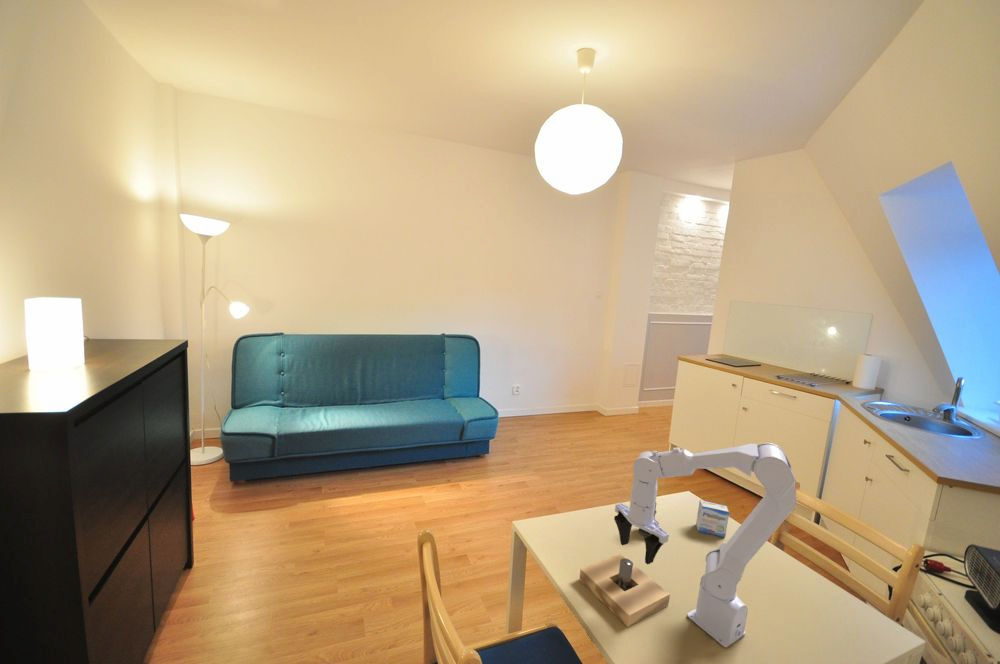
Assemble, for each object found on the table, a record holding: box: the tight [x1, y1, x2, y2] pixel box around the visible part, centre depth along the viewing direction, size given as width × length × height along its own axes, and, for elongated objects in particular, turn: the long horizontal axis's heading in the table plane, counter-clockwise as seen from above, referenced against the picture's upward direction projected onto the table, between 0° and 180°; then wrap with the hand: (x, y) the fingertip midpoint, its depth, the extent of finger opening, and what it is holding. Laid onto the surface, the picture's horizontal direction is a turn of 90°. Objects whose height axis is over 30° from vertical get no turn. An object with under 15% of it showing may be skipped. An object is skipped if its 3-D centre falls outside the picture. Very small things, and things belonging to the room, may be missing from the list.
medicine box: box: [695, 500, 730, 538], centre depth 131 cm, size 8×4×9 cm, turn 73°
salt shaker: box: [637, 503, 660, 538], centre depth 127 cm, size 6×6×12 cm
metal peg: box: [617, 557, 634, 591], centre depth 102 cm, size 3×3×8 cm
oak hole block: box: [578, 553, 671, 628], centre depth 102 cm, size 16×14×3 cm
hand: (636, 552), depth 102 cm, fingers open, 7 cm apart
